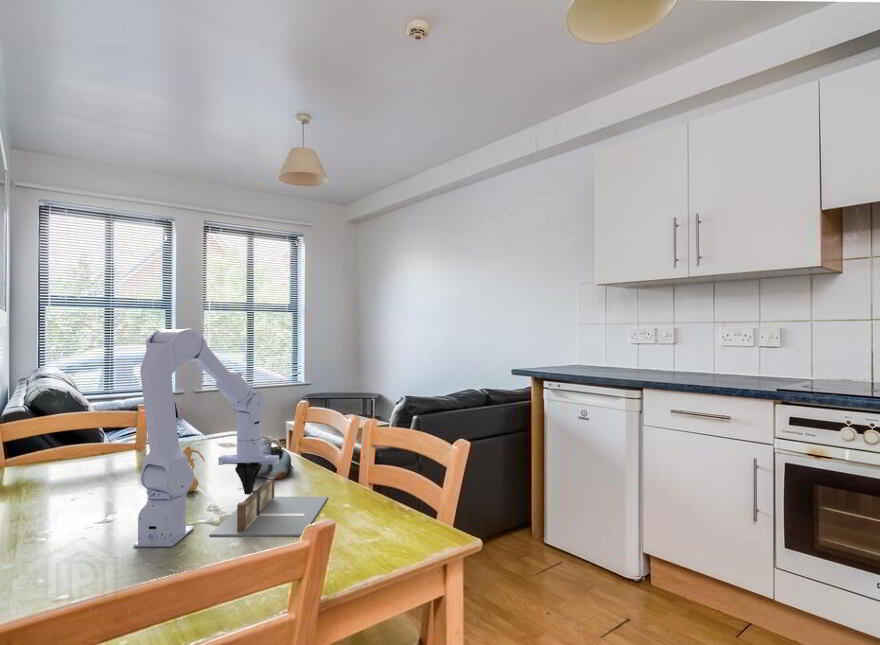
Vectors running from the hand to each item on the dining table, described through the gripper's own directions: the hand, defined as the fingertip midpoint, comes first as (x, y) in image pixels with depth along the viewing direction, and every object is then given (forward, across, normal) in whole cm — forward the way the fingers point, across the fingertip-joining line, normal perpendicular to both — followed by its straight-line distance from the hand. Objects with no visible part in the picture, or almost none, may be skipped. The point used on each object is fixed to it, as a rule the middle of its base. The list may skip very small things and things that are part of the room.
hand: (248, 493), depth 126 cm
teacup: (+3, +12, -41) cm, 43 cm away
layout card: (+3, -9, +7) cm, 12 cm away
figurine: (+3, +20, -11) cm, 23 cm away
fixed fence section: (+2, -5, +12) cm, 13 cm away
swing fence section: (+2, -5, +2) cm, 6 cm away
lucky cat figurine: (+3, +3, -24) cm, 25 cm away
